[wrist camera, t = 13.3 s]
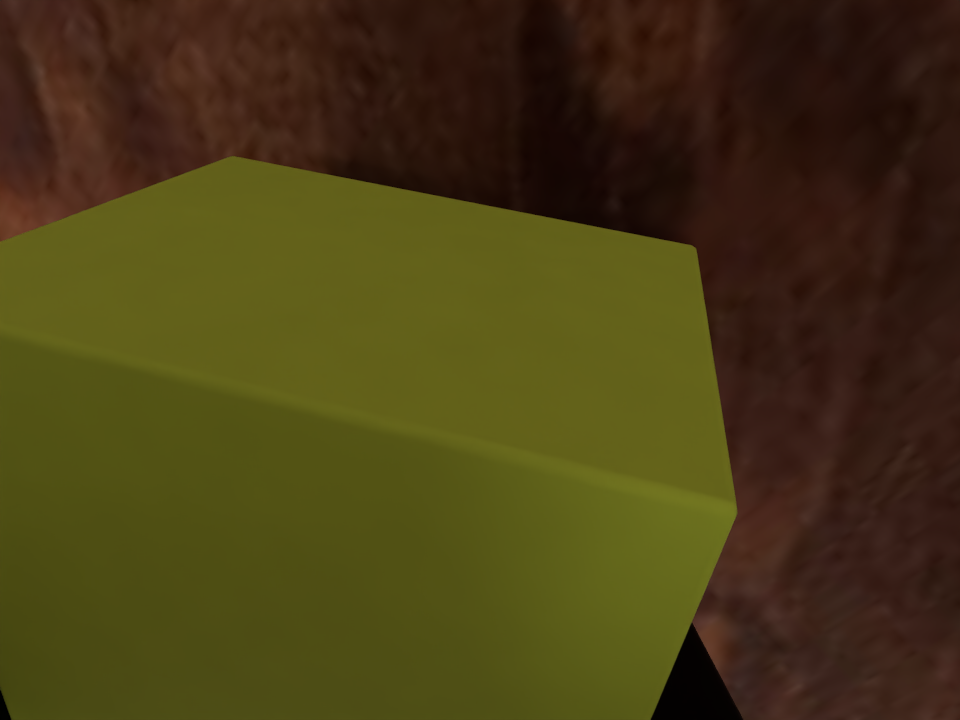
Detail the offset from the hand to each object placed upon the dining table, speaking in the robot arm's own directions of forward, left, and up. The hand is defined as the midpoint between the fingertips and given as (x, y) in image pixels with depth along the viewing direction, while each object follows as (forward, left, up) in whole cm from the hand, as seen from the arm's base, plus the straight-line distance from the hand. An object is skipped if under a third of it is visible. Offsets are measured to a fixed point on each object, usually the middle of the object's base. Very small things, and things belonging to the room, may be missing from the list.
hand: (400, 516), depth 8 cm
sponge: (0, 0, -1) cm, 1 cm away
